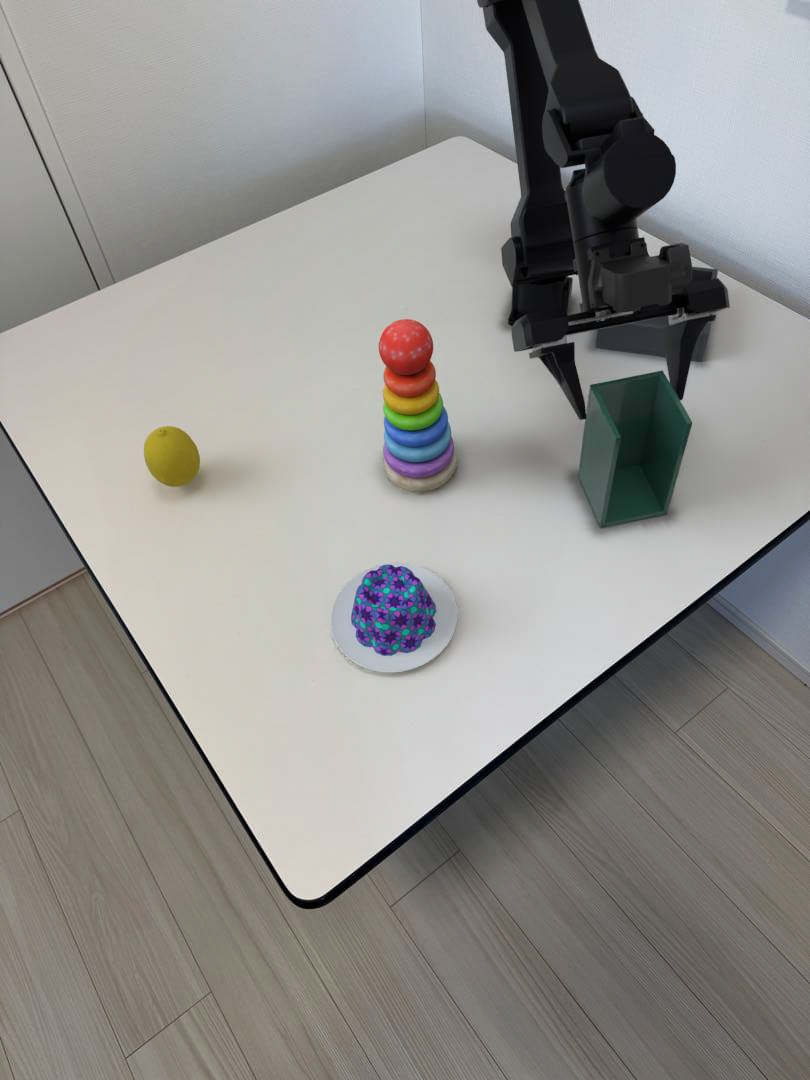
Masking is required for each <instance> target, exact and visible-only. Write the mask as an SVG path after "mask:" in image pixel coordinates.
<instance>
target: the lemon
mask: <svg viewBox="0 0 810 1080" xmlns="http://www.w3.org/2000/svg"><path fill="white" fill-rule="evenodd" d="M143 459H144V462H145V465H146V468H147V469H148V472H149V473H150V474H151V475H152V477H153V478H154V479H155V480H156V481H157V482H159V483H160V484H162V485H164V486H167V487H172V488H178V487H183V486H186V485H188V484H189V483H191V482H192V481H193V480H194V479H195V478H196V477H197V475H198V473H199V470H200V466H201V456H200V452H199V449H198V447H197V444H196V442H194V440H193V439H192V437H191V436H190V435H189V434H188V433H187V432H185V430H183V429H181V428H179V427H177V426H172V425H171V426H170V425H165V426H161V427H157V428H155V429H153V431H151V432H150V433H149V434H148V435H147V437H146V439H145V441H144V444H143Z"/></svg>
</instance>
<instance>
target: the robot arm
mask: <svg viewBox="0 0 810 1080" xmlns="http://www.w3.org/2000/svg"><path fill="white" fill-rule="evenodd" d="M476 2H477V6H478V8H480V9H482V13H483V19H484V25H485V29H486V31H487V33H488V34H489V35H490V37H491V38H492V39H493V41H494V42H495V43H496V45H497V46H498V48H500V50H501V51H502V53H503V56H504V64H505V71H506V73H505V74H506V80H507V90H508V97H509V106H510V113H511V122H512V131H513V139H514V140H513V141H514V146H515V156H516V164H517V173H518V180H519V189H520V198H519V200H518V204H517V206H516V209H515V211H514V213H513V216H512V218H511V221H510V237H509V238H508V239H507V240H506V241H505V243H504V244H503V245H502V246H501V247H500V251H501V252H500V253H501V264H502V268H503V270H504V273H505V274H506V277H507V279H508V281H509V284H510V286H511V310H510V313H509V316H508V318H507V324H508V325H509V326H511V340H512V346H513V352H514V353H516V352H522V351H527V350H532V351H531V352H528V359H531V360H532V359H536V358H538V359H539V360H540V361H541V362H542V364H543V365H544V367H545V368H546V369H547V371H548V372H549V373H550V374H551V375H552V377H553V378H554V379H555V381H556V383H557V384H558V385H559V387H560V389H561V390H562V392H563V394H564V396H565V398H566V399H567V401H568V402H569V404H570V406H571V408H572V409H573V412H574V413H575V414H576V416H577V418H578V419H579V420H580V421H585V419H586V410H587V408H586V401H585V398H584V394H583V389H582V385H581V381H580V377H579V373H578V368H577V364H576V345H575V343H576V342H575V341H571V342H568V340H567V336H572V335H577V334H582V333H588V332H592V331H598V329H603V328H608V327H614V326H619V325H624V324H629V323H634V322H640V321H645V320H650V319H655V318H661V317H665V318H667V319H668V320H669V326H667V327H664V328H662V335H663V341H664V348H665V354H666V357H665V360H666V366H667V367H666V368H667V374H668V381H669V382H670V384H671V386H672V388H673V389H674V391H675V393H676V394H677V396H678V398H679V400H680V401H683V399H684V395H685V391H686V387H687V381H688V377H689V372H690V367H691V362H692V360H691V358H692V354H693V351H694V348H695V345H696V342H697V339H698V337H699V335H700V333H701V332H702V330H703V328H704V327H705V325H706V324H707V323H710V322H711V323H712V322H713V323H714V322H715V321H716V320H717V314H714V313H717V312H720V311H722V310H723V311H724V310H726V309H730V308H731V306H730V305H731V303H730V296H729V290H728V289H729V288H728V287H727V286H726V285H725V284H724V282H723V281H722V280H720V279H719V277H717V278H716V279H711V280H705V281H700V282H695V283H690V282H691V280H692V267H693V263H692V262H693V261H692V257H691V251H690V247H689V246H690V245H689V244H686V243H683V242H680V243H679V242H678V243H674V244H670V245H669V244H668V245H663V246H661V247H660V248H659V254H658V255H652V256H650V254H649V252H648V244H647V242H646V239H645V236H644V237H640V233H639V228H638V221H637V220H638V219H637V218H639V217H640V216H641V215H643V214H644V213H646V212H647V211H648V210H650V209H651V208H653V207H654V206H655V205H657V204H658V203H660V201H663V200H664V198H665V197H666V196H667V195H668V193H669V192H670V191H671V189H672V187H673V185H674V183H675V179H676V174H677V163H676V157H675V156H674V154H673V153H672V151H671V149H670V147H669V146H668V145H667V144H666V142H665V141H664V140H663V139H662V138H660V137H659V136H658V135H656V134H655V132H656V130H655V128H654V127H653V126H652V125H651V124H650V122H649V121H648V120H647V119H646V118H645V116H644V113H643V112H642V111H641V110H640V107H639V106H638V104H637V102H636V100H635V98H634V97H633V96H631V93H630V91H629V88H628V87H627V85H626V82H625V81H624V79H623V76H622V75H621V72H620V71H619V70H618V69H617V68H616V67H614V66H613V65H611V64H610V63H608V62H606V61H604V60H603V59H602V58H600V56H599V55H598V52H597V51H596V47H595V45H594V42H593V39H592V36H591V33H590V30H589V27H588V26H589V25H588V23H587V19H586V18H585V15H584V14H585V13H584V11H583V9H582V5H581V3H580V0H476ZM582 165H583V166H584V168H579V169H574V170H573V171H572V174H571V179H570V181H569V183H568V184H567V186H566V188H564V187H563V182H562V172H561V169H565V168H571V167H576V166H582ZM575 275H576V276H577V277H578V283H579V289H580V296H581V303H580V304H579V310H580V311H579V312H577V313H572V314H569V312H570V309H571V304H572V296H573V295H572V293H573V285H574V279H573V277H571V276H575ZM672 287H676V288H674V289H672ZM636 309H637V311H635V310H636ZM608 310H609V312H610V314H608V315H603V316H600V315H598V316H597V314H598V313H601V312H602V311H608ZM634 311H635V312H634ZM710 313H712V315H711V316H709V314H710ZM599 320H601V321H599ZM711 323H710V324H711Z"/></svg>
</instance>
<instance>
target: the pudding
mask: <svg viewBox="0 0 810 1080" xmlns="http://www.w3.org/2000/svg"><path fill="white" fill-rule="evenodd" d="M457 604H458V603H457V602H456V598H455V596H454V593H453V591H452V590H451V588H450V586H449V585H448V584H447V583H446V582H445V580H444V579H442V578H441V577H440V576H439V575H438V574H437V573H435V572H433V571H431V570H430V569H428V568H426V567H423V566H421V565H418V564H413V563H409V562H386V563H381V564H377V565H374V566H372V567H369V568H366V569H364V570H363V571H361V572H359V573H357V574H356V575H355V576H352V578H351V579H349V580H348V581H347V582H346V583H345V585H344V586H343V587H342V588H341V589H340V591H339V592H338V593H337V595H336V597H335V599H334V601H333V604H332V606H331V611H330V617H329V618H330V621H329V623H330V625H329V626H330V631H331V635H332V638H333V640H334V642H335V644H336V645H337V647H338V648H339V650H340V652H342V654H343V655H344V656H345V657H347V659H349V660H350V661H352V662H354V663H355V664H356V665H358V666H360V667H362V668H364V669H366V670H370V671H374V672H377V673H378V672H379V673H400V672H401V673H403V672H406V671H410V670H414V669H416V668H419V667H421V666H424V665H426V664H427V663H428V662H429V663H430V661H432V660H434V659H435V658H436V657H437V656H438V655H439V654H440V653H442V652H443V650H444V649H446V647H447V645H448V644H449V643H450V642H451V639H452V637H453V636H454V634H455V630H456V629H457V624H458V617H459V615H458V614H459V613H458V605H457Z"/></svg>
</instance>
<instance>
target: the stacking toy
mask: <svg viewBox="0 0 810 1080" xmlns="http://www.w3.org/2000/svg"><path fill="white" fill-rule="evenodd" d="M433 352H434V341H433V337H432V335H431V332H430V331H429V329H428V328H427V327H426V326H425V325H424V324H422V323H421V322H420V321H417V320H414V319H410V318H402V319H397V320H395V321H393V322H392V323H390V324H388V325H387V326H386V327H385V329H383V331H382V332H381V334H380V337H379V341H378V353H379V357H380V359H381V361H382V363H383V364H384V365H385V368H384V370H383V382H384V386H383V390H382V396H383V405H382V411H383V414H384V417H383V427H384V430H383V440H384V443H383V449H382V451H383V453H382V454H383V469H384V472H385V475H386V476H387V478H388V480H390V481H391V482H392V483H393V484H394V485H395V486H398V487H399V488H401V489H403V490H406V491H409V492H410V491H411V492H419V493H420V492H428V491H432V490H435V489H437V488H440V487H441V486H442V485H444V484H446V483H447V482H448V481H449V480H450V479H451V478H452V476H453V475H454V474H455V472H456V470H457V466H458V453H457V450H456V448H455V442H454V439H453V437H452V427H451V425H450V422H449V415H448V411H447V410H446V407H445V406H444V400H443V397H442V395H441V393H440V386H439V383H438V381H437V379H436V377H437V370H436V367H435V365H434V364H433V362H432V361H431V359H432V358H433V357H432V356H433Z"/></svg>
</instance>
